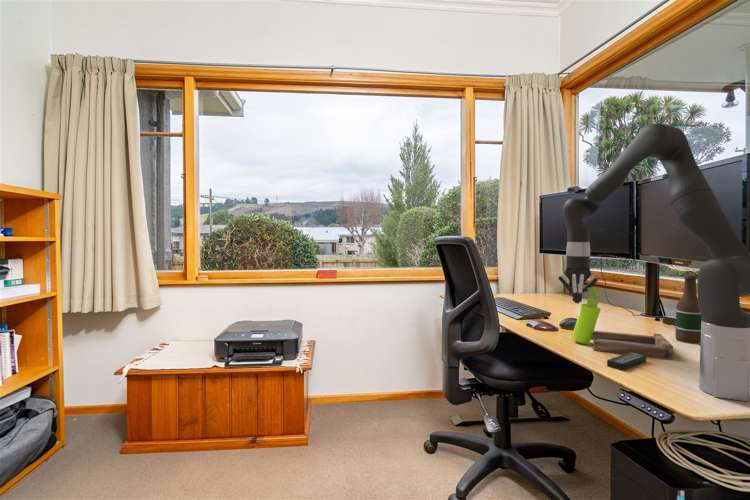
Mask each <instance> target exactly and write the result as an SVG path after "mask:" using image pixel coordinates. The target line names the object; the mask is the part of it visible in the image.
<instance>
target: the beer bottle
mask: <svg viewBox="0 0 750 500" xmlns="http://www.w3.org/2000/svg"><path fill="white" fill-rule="evenodd" d="M683 278H684V285H683V292H682V293H683V294H682V296H681V297H680V298H679V299H678V301H677V304H676V306H675V307H676V308H675V339H676V341H679V342H681V343H686V344H694V345H695V344H701V323H702V315H701V312H700V310H699V307H698V293H697V278H698V276H697V275H695V274H686V275H684V277H683Z"/></svg>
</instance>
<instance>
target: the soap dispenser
mask: <svg viewBox="0 0 750 500" xmlns="http://www.w3.org/2000/svg"><path fill="white" fill-rule="evenodd" d="M587 289H588V291H590V292H592V294H591V295H588V298H587V301H586V303H585V302H583V303H581V305H580V309H579V313H578V315H577V319H576V321H575V324H574V328H573V332H572V335H571V339H572V340H573V341H575V342H577V343H579V344H583V345H590V342H591V337H592V334H593V331H595V327H596V324H597V321H598V319H599V316H600V312H601V308H600V307H598V305H599V302H600V298H599V294H600V292H603V290H602V289H601V288H599V287H595V286H592V287H589V288H587Z"/></svg>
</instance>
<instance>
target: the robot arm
mask: <svg viewBox="0 0 750 500" xmlns="http://www.w3.org/2000/svg"><path fill="white" fill-rule="evenodd" d="M649 157H651V158H655V159H657V160H658V161H659V162H660V163H661V165H662V167H663V168H664V171H665V172H666V174H667V177H668V189H667V193H668V194H667V197H668V202H669V203H670V207H671V209H672V211H673V213H674V215H675V217H676V218H677V220H678V222H679V223H680V224H681V225H682V226H683V227H684V228H685V229H686V230H687V231H688V232H689V233H691V234H692V235H693V236H694V237H695V238H697V239H698V241H700V242H701V243H702V244H703V245H704V246H705V247H706V248H707V251H709V253H710V255H711V257H712V259H709V260H706V261H705V262H704V263H702V264H701V266H700V268H699V269H698V272H697V279H696V292H697V299H698V307H699V310H700V312H701V315H702V323H701V343H700V354H699V377H698V378H699V381H698V384H699V385H698V388H699V390H701V391H702V392H704V393H706V394H708V395H712V396H713V397H715V398H721V399H729V400H734V401H742V402H749V399H750V313H749V312H747V311H745V310H743V309H742V307H741V303H740V301H741V300H740V296H741V297H742V296H750V251H749V250H748V248H747V247H746V246H745V243H743V242H742V240H741V239H740V238H739V236H738V234H737V232H736V230H735V229H734V227H733V225H732V224H731V222H730V220H729V218H728V217H727V215H726V213H725V212H724V210H723V208H722V205H721V204H720V201H719V200H718V198H717V196H716V194H715V193H714V191H713V189H712V187H711V185H709V182H708V181H707V179H706V177H705V175H704V173H703V172H702V170H701V169H700V167H699V164H698V163H697V162H696V159H695V157H694V154H693V152H692V149H691V146H690V143H689V140H688V139H687V136H686V134H685V133H684V131H683V130H682V129H680V128H679V127H676V126H672V125H669V124H665V123H656V122H655V123H651V124H648V125H647V126H646V127H644V128H642V130H640V131H639V133H638V134H637V135H636V136H635V137H634V138H633V139H632V140H631V142H630V143H629V145H628V146H627V147H626V148H625V149H624V150H623V151H622V153H621V154H620V155H619V156H618V157H617V158H616V159H615V161H614V162H613V163H612V164H611V165H610V167H608V169H607V170H605V171H604V173H602V174H601V175H599V176H598V178H596V179H595V180H594V181H593V182H591V184H589V186H588V187H587V188H586V189H585V193H584V194H585V197H583V198H577V197H576V198H575V197H572V198H569V199H567V200H566V201H565V202H564V204H563V208H562V214H563V218H564V222H565V227H566V229H567V235H566V237H567V239H566V240H567V242H566V244H567V245H566V252H565V254H566V255H565V270H564V273H563V274H562V275H559V276H558V277H557V278H558V280H559V281H560V282H561V284H562V285H563V286H564V287H565V289H566V290H567V291H569V292H572V302H574V304H580V303H581V302H582V301H583V299H582V298H583V297H582V296H583V293H586V292H588V291H589V290H588V289H587V288H589V287H594V285H595V284H596V283H598V278H597V277H596V276H594V275H593V274H592V271H591V244H590V239H591V235H590V234H591V232H590V230H591V229H590V227H589V226H587V225H585V224H584V222H583V219H587V218H591V216H593V215H595V214H596V213H597V212H598V210H599V209H600V207H602V205H603V203H604V202H605V201H607V200H608V199H609V198H611V196H613V195H614V194H616V193H617V192H618V191H619V190H620V189H621V188H622V187H623V185H624V184H625V182H626V180H627V178H628V177H629V174H630V172H631V171H632V170H633V169H634V168H635V167H636V166H637V165H638V164H639V163H641V162H642V161H644V160H646V159H647V158H649ZM567 279H568V281H569V282H570V283H571V284H572V286H571V285H570V284H569V283H567V281H566V280H567ZM588 280H589V282H588V283H587V284H586V285H585V286H584V283H586V282H587V281H588ZM577 284H578V287H577Z"/></svg>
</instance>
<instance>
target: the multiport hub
mask: <svg viewBox="0 0 750 500" xmlns="http://www.w3.org/2000/svg"><path fill="white" fill-rule="evenodd" d="M646 362H647V356H646V355H642V354H638V353H634V352H630V353H627V354H621V355H618V356H615V357H612V358H609V359H607V360H606V367H608V368H611V369H614V370H618V371H626V370H627V369H631V368H633V367H636V366H639V365H642V364H644V363H645V364H646Z"/></svg>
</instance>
